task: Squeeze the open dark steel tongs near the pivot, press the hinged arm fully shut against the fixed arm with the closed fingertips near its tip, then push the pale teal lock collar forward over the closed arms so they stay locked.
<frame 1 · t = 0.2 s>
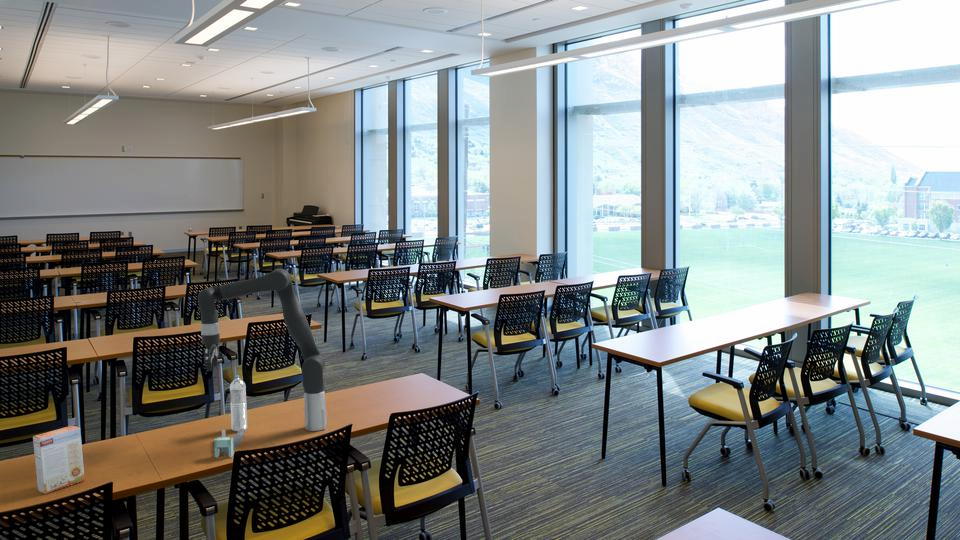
hand: (212, 368, 306), 29 cm above the table, tool pointing down, fingers open, 8 cm apart
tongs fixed: (227, 452, 283), on the table
cracker box: (61, 486, 252), on the table
tong arm: (224, 440, 292), point 2 cm above the table, hinge at 18.0°
water bottle: (239, 430, 311), on the table
lock collar: (223, 447, 279), point 4 cm above the table, slide at 0.0 cm
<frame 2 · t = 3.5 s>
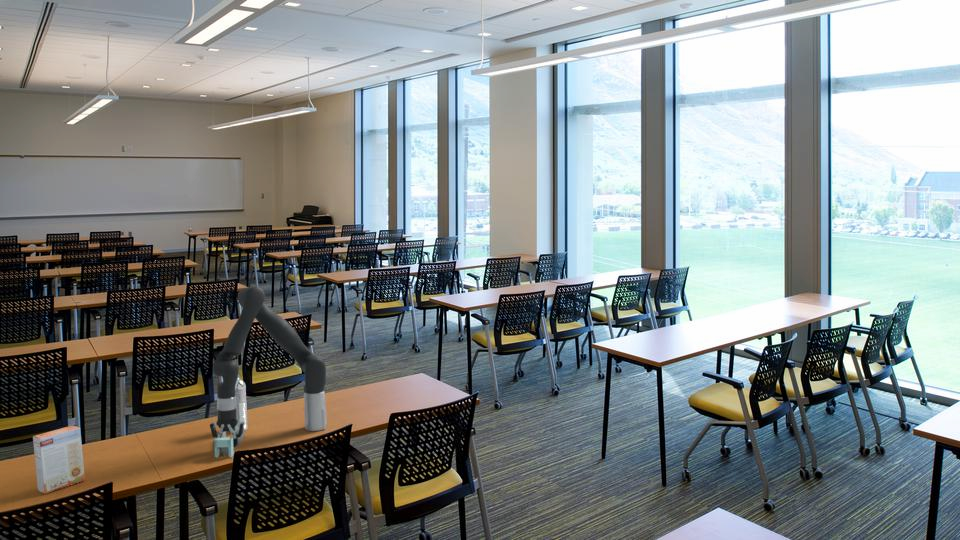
hand: (227, 446, 287), 1 cm above the table, tool pointing down, fingers open, 5 cm apart
tong arm: (224, 440, 292), point 2 cm above the table, hinge at 17.2°, touching gripper
everything else where it was.
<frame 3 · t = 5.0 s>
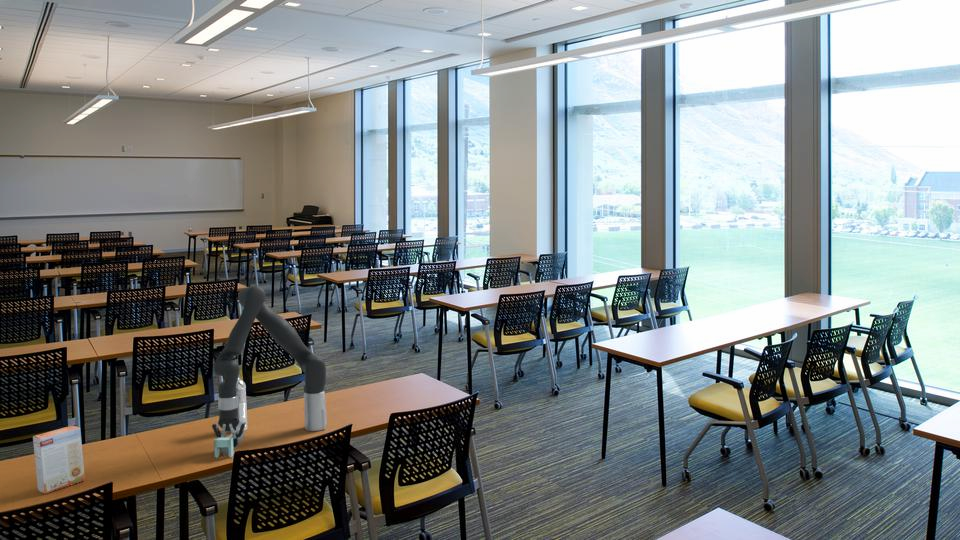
hand: (229, 446, 287), 1 cm above the table, tool pointing down, fingers open, 3 cm apart
tong arm: (231, 439, 293), point 2 cm above the table, hinge at -0.3°, touching gripper
everything else where it was.
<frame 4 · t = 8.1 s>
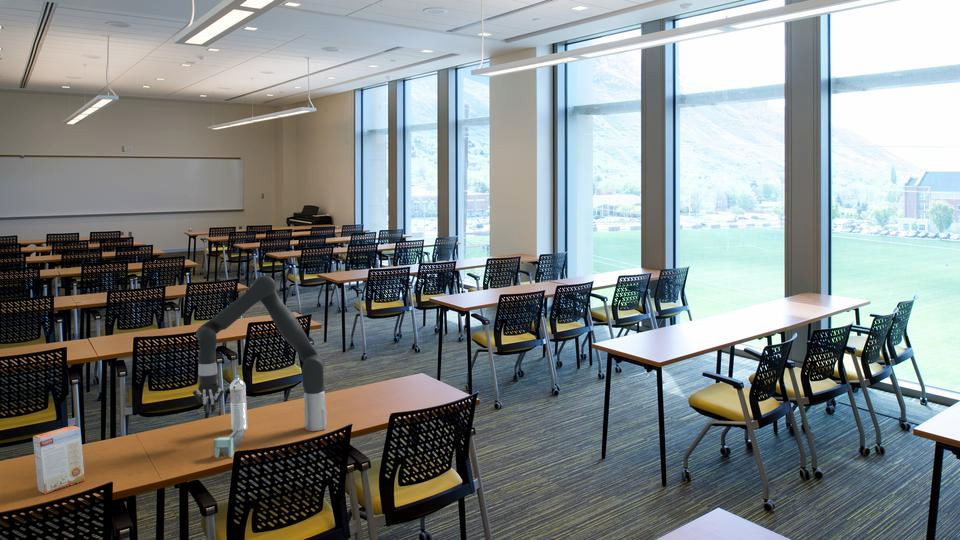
hand: (209, 412, 295), 13 cm above the table, tool pointing down, fingers closed
tong arm: (231, 439, 293), point 2 cm above the table, hinge at -0.2°
everything else where it was.
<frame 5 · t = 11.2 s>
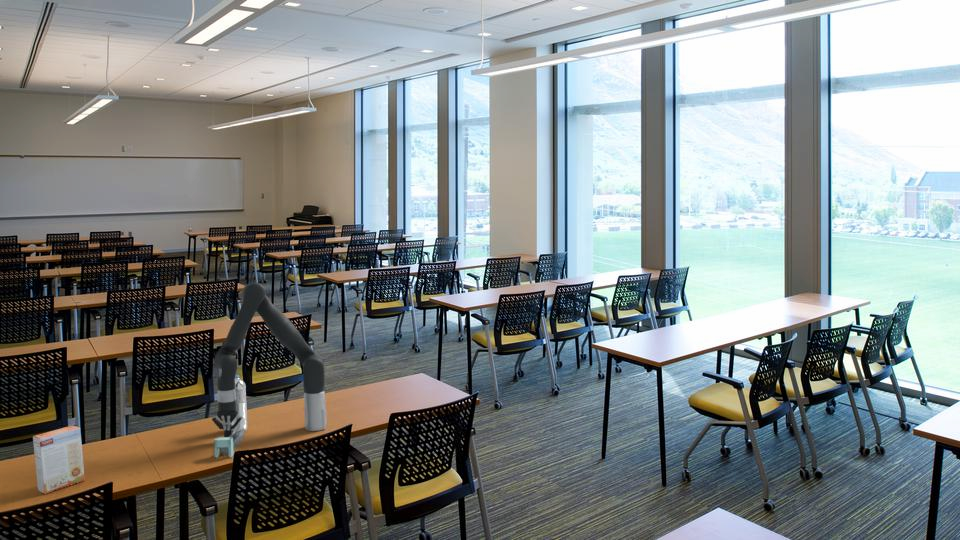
hand: (227, 438, 297), 1 cm above the table, tool pointing down, fingers closed
tong arm: (231, 439, 293), point 2 cm above the table, hinge at -0.3°, touching gripper
everything else where it was.
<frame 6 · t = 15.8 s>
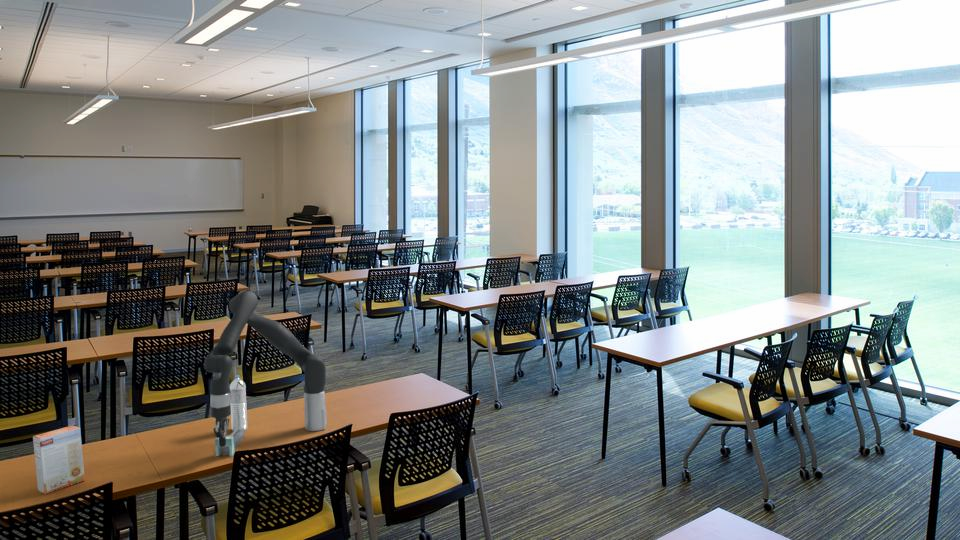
hand: (222, 445, 277), 5 cm above the table, tool pointing down, fingers closed
tong arm: (232, 439, 293), point 2 cm above the table, hinge at -0.9°
lock collar: (224, 446, 280), point 4 cm above the table, slide at 1.2 cm, touching gripper
everything else where it was.
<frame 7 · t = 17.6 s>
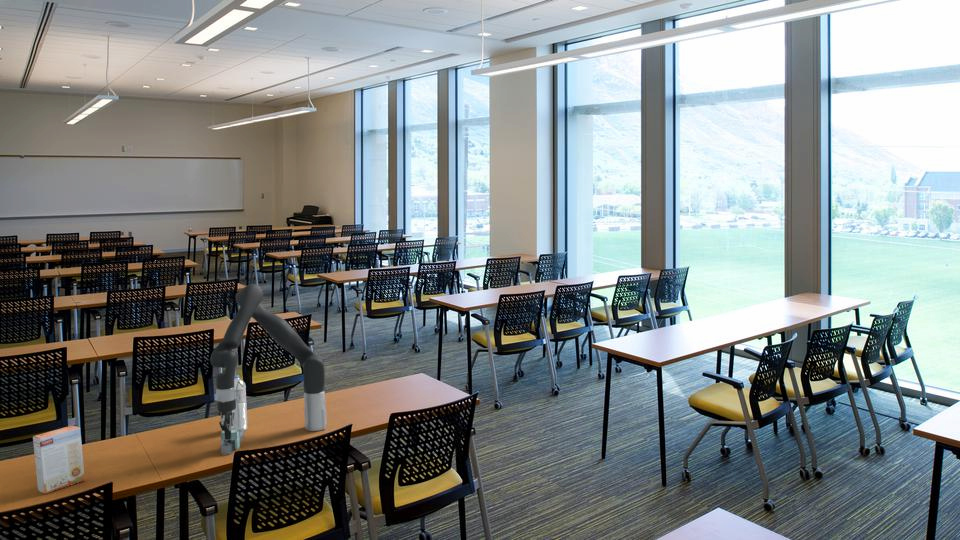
hand: (228, 438, 284), 6 cm above the table, tool pointing down, fingers closed
lock collar: (230, 439, 288), point 4 cm above the table, slide at 8.7 cm, touching gripper
everything else where it was.
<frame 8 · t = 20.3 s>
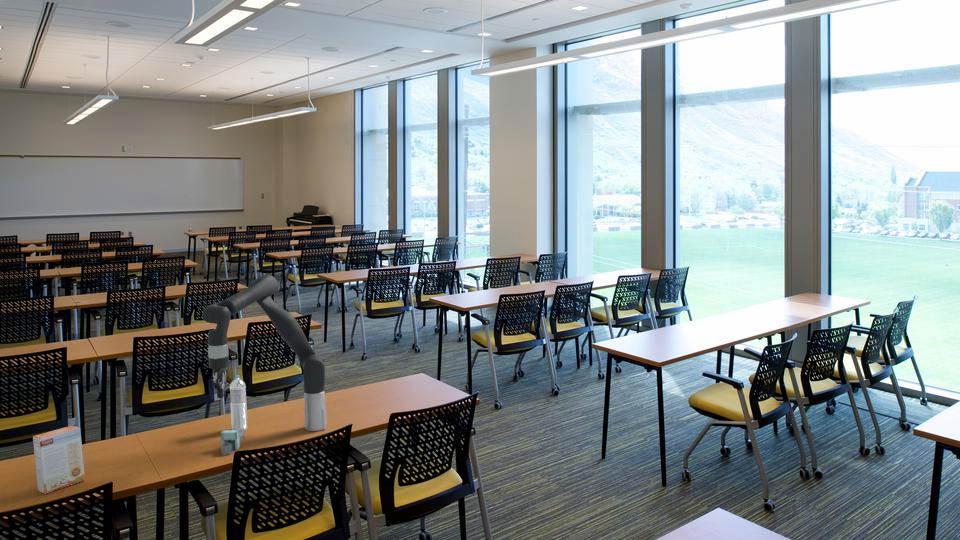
hand: (220, 397, 276), 25 cm above the table, tool pointing down, fingers closed
lock collar: (230, 439, 288), point 4 cm above the table, slide at 8.7 cm
everything else where it was.
at the end: tong arm at -1° (first picture: +18°); lock collar slide at 8.7 cm; the gripper is holding nothing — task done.
